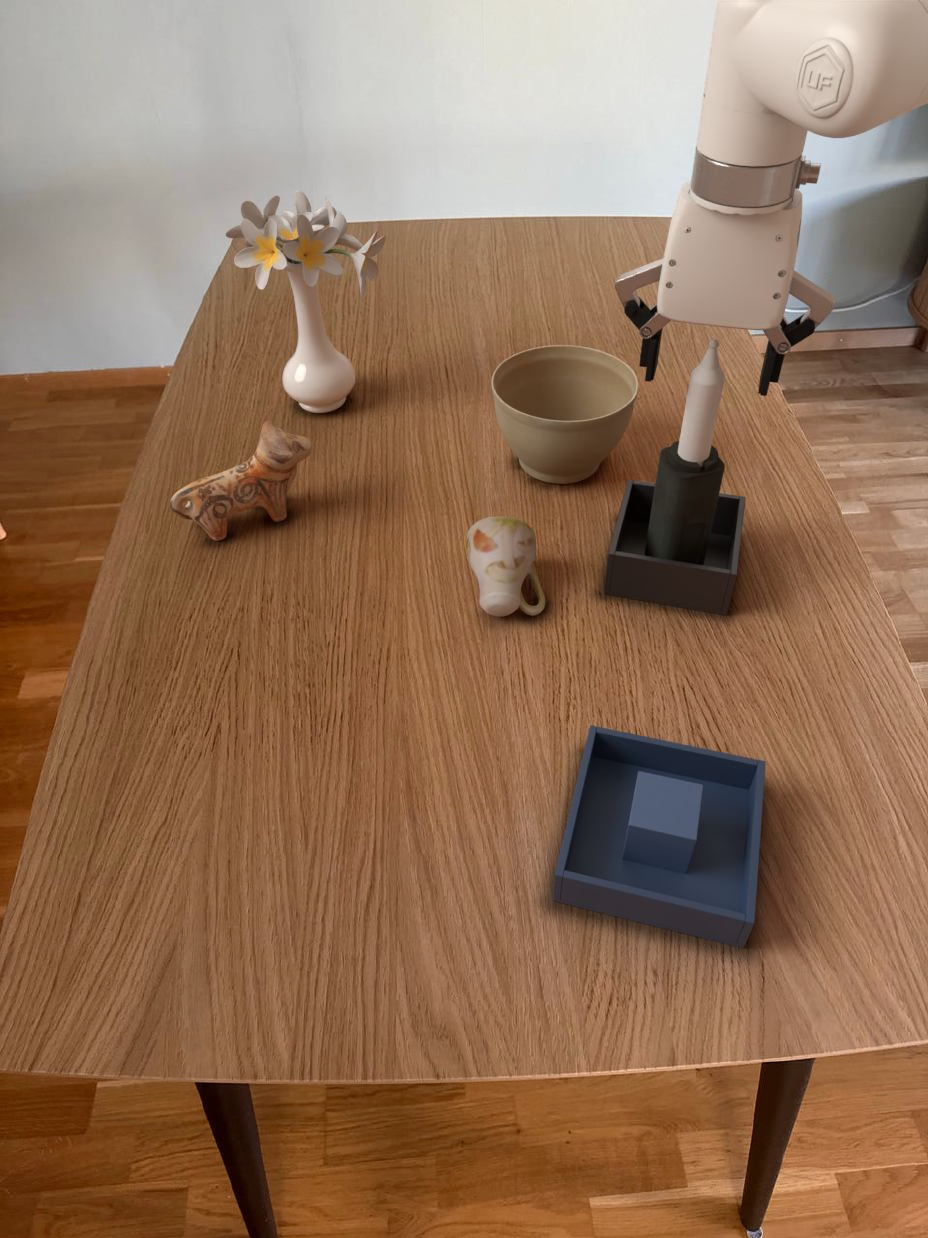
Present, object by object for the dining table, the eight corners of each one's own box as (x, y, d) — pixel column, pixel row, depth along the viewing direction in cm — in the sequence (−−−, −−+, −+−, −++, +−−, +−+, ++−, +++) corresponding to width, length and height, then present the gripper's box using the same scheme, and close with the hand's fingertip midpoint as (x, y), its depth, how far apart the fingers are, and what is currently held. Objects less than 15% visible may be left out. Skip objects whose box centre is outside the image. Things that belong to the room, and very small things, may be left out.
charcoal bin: (735, 537, 98) (745, 496, 94) (726, 615, 90) (737, 574, 86) (622, 519, 101) (627, 479, 97) (603, 594, 92) (608, 553, 88)
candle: (661, 580, 93) (700, 359, 75) (641, 548, 96) (673, 330, 78) (707, 569, 94) (756, 349, 76) (685, 539, 97) (727, 320, 79)
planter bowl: (651, 487, 104) (663, 405, 97) (517, 515, 101) (518, 433, 94) (597, 412, 115) (605, 333, 107) (475, 436, 112) (473, 356, 105)
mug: (465, 632, 90) (446, 533, 87) (486, 602, 98) (468, 511, 96) (540, 623, 87) (522, 522, 85) (554, 593, 96) (538, 501, 94)
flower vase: (389, 430, 114) (369, 229, 96) (245, 424, 115) (200, 225, 98) (405, 375, 123) (390, 182, 105) (272, 370, 124) (235, 179, 106)
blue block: (693, 819, 73) (703, 784, 70) (686, 874, 70) (696, 840, 67) (631, 805, 74) (638, 770, 71) (621, 859, 71) (628, 824, 68)
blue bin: (755, 789, 76) (765, 761, 73) (743, 948, 66) (754, 923, 64) (586, 753, 79) (590, 724, 76) (552, 901, 69) (554, 875, 67)
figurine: (331, 514, 102) (318, 439, 95) (191, 560, 98) (166, 485, 90) (310, 482, 107) (296, 408, 100) (174, 524, 102) (150, 450, 95)
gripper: (866, 165, 68) (810, 370, 80) (634, 149, 72) (614, 347, 84) (868, 204, 63) (808, 417, 75) (618, 185, 67) (600, 390, 79)
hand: (706, 380), depth 80 cm, fingers open, 9 cm apart
